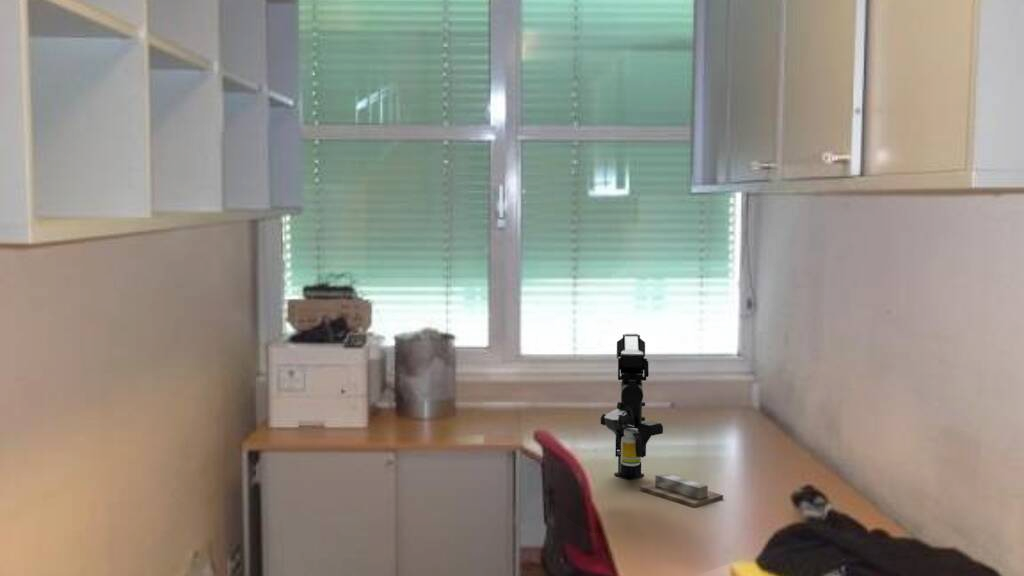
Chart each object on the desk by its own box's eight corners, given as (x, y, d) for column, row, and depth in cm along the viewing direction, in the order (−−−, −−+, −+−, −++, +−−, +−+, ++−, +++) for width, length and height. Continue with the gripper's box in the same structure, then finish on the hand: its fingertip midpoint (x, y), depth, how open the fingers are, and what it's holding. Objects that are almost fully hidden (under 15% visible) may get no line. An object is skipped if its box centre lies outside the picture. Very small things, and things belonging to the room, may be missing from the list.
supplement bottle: (617, 461, 276) (618, 427, 275) (636, 460, 278) (636, 426, 277) (624, 467, 271) (625, 432, 270) (643, 465, 272) (644, 431, 271)
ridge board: (639, 490, 283) (639, 476, 283) (668, 482, 291) (668, 468, 290) (694, 507, 268) (694, 492, 267) (723, 498, 275) (723, 484, 275)
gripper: (586, 396, 275) (585, 452, 276) (635, 408, 260) (634, 466, 262) (615, 391, 282) (614, 446, 283) (664, 402, 267) (663, 459, 269)
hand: (630, 454), depth 274 cm, fingers closed on supplement bottle, 5 cm apart
